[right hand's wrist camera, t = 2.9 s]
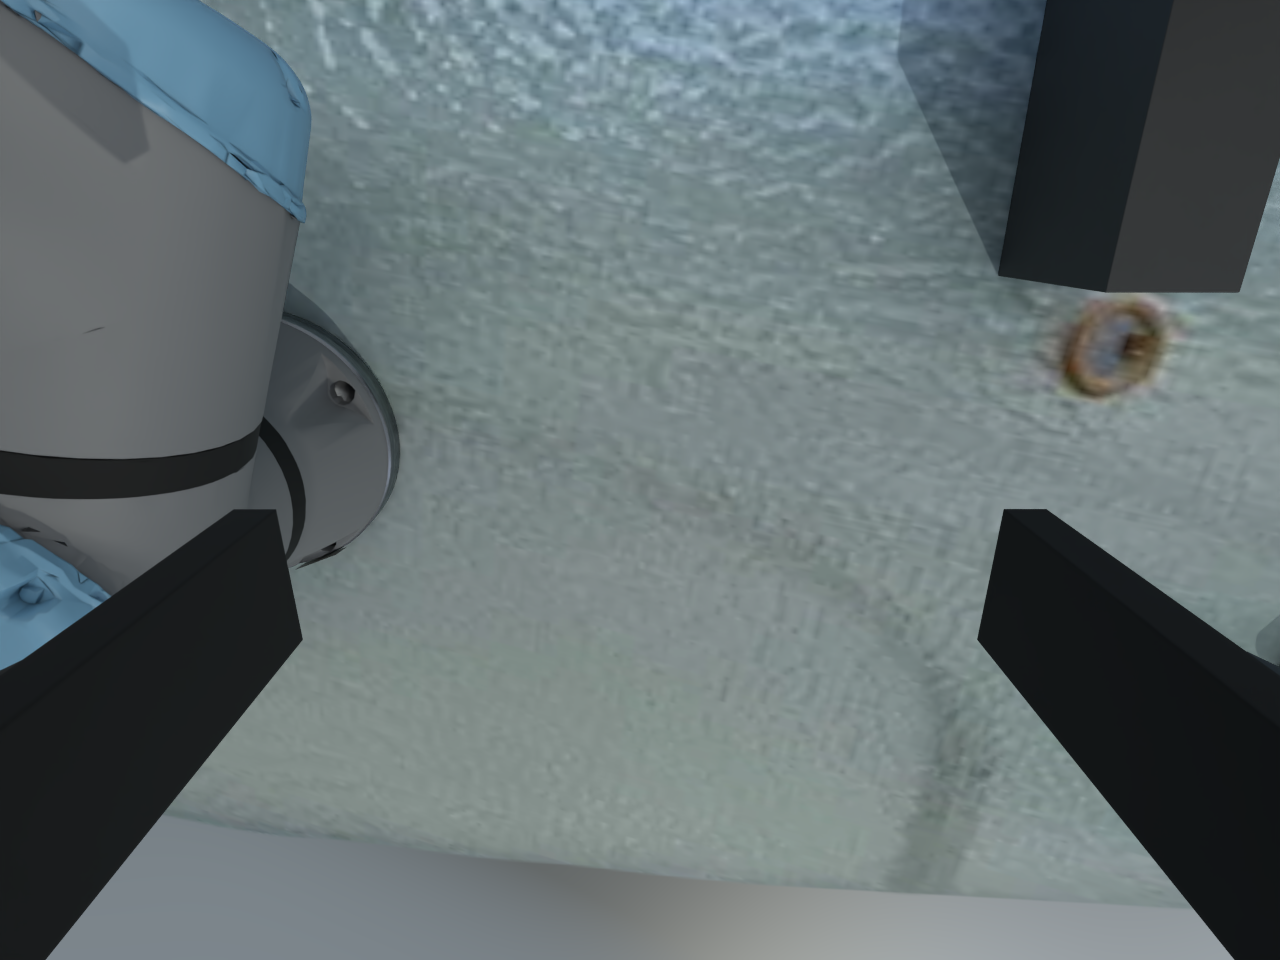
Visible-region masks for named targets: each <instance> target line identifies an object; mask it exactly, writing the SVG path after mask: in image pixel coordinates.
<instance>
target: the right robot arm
mask: <svg viewBox="0 0 1280 960" xmlns="http://www.w3.org/2000/svg"><path fill="white" fill-rule="evenodd" d="M310 131H311V110H310V105H309V101H308V98H307V95H306V92H305V90H304V88H303V86H302V84H301V82H300V80H299V79H298V77H297V76H296V74H295V73H294V71H293V70H292V69H291V68H290V66H289V65H288V64H287V63H286V62H285V61H284V60H283V59H282V58H281V57H280V56H279V55H278V54H277V53H276V52H275V51H274V50H272V49H271V48H270V47H269V46H267V45H266V44H265V43H264V42H262V41H261V40H259V39H258V38H256V37H255V36H254V35H252V34H251V33H249V32H248V31H246V30H245V29H243V28H242V27H240V26H239V25H237V24H236V23H234V22H233V21H231V20H229V19H228V18H226V17H225V16H223V15H222V14H220V13H219V12H217V11H215V10H214V9H212V8H210V7H209V6H207V5H205V4H204V3H202V2H201V1H199V0H0V960H46V958H47V957H48V956H49V955H50V953H51V952H52V951H53V950H54V949H55V947H56V946H57V945H58V944H59V942H60V941H61V940H62V939H63V937H64V936H65V935H66V934H67V932H68V931H69V930H70V929H71V927H72V926H73V925H74V924H75V922H76V921H77V920H78V919H79V917H80V916H81V915H82V914H83V912H84V911H85V910H86V909H87V907H88V906H89V905H90V904H91V902H92V901H93V900H94V899H95V897H96V896H97V895H98V894H99V892H100V891H101V890H102V889H103V888H104V886H105V885H106V884H107V883H108V881H109V880H110V879H111V878H112V876H113V875H114V874H115V873H116V871H117V870H118V869H119V868H120V866H121V865H122V864H123V863H124V861H125V860H126V859H127V858H128V856H129V855H130V854H131V853H132V851H133V850H134V849H135V848H136V846H137V845H138V844H139V843H140V842H141V840H142V839H143V838H144V837H145V835H146V834H147V833H148V832H149V830H150V829H151V828H152V827H153V825H154V824H155V823H156V822H157V820H158V819H159V818H160V817H161V815H162V814H163V813H164V812H165V810H166V809H167V808H168V807H169V805H170V804H171V803H172V802H173V800H174V799H175V798H176V797H177V795H178V794H179V793H180V792H181V790H182V789H183V788H184V787H185V786H186V784H187V783H188V782H189V781H190V779H191V778H192V777H193V776H194V774H195V773H196V772H197V771H198V769H199V768H200V767H201V766H202V764H203V763H204V762H205V761H206V759H207V758H208V757H209V756H210V754H211V753H212V752H213V751H214V749H215V748H216V747H217V746H218V744H219V743H220V742H221V741H222V739H223V738H224V737H225V736H226V734H227V733H228V732H229V731H230V730H231V728H232V727H233V726H234V725H235V723H236V722H237V721H238V720H239V718H240V717H241V716H242V715H243V713H244V712H245V711H246V710H247V708H248V707H249V706H250V705H251V703H252V702H253V701H254V700H255V698H256V697H257V696H258V695H259V693H260V692H261V691H262V690H263V688H264V687H265V686H266V685H267V683H268V682H269V681H270V680H271V678H272V677H273V676H274V675H275V673H276V672H277V671H278V670H279V669H280V667H281V666H282V665H283V664H284V662H285V661H286V660H287V659H288V657H289V656H290V655H291V654H292V652H293V651H294V650H295V649H296V647H297V646H298V645H299V644H300V642H301V641H302V640H303V638H302V634H301V629H300V624H299V619H298V614H297V609H296V604H295V599H294V594H293V589H292V585H291V580H290V575H289V570H288V568H289V567H292V566H295V565H297V564H298V563H303V562H306V563H305V564H303V565H301V566H300V567H298V568H297V569H299V568H301V567H304V566H307V565H309V564H312V563H315V562H317V561H320V560H323V559H325V558H328V557H331V556H333V555H336V554H337V553H339V552H340V551H342V550H343V549H345V548H346V547H345V548H343V549H341V548H342V547H344V546H346V545H347V544H349V543H350V542H351V541H353V540H354V539H355V538H356V537H358V536H359V535H360V534H361V533H362V532H363V531H364V530H365V528H366V527H367V526H368V525H369V524H370V523H371V522H372V521H373V520H374V518H375V517H376V516H377V515H378V514H379V512H380V511H381V510H382V508H383V507H384V505H385V504H386V502H387V500H388V499H389V496H390V494H391V492H392V490H393V487H394V484H395V481H396V478H397V473H398V468H399V459H400V444H399V435H398V429H397V425H396V420H395V417H394V414H393V411H392V408H391V406H390V403H389V401H388V399H387V397H386V395H385V393H384V391H383V389H382V387H381V385H380V384H379V382H378V381H377V379H376V378H375V376H374V375H373V373H372V372H371V371H370V370H369V368H368V367H367V366H366V365H365V363H364V362H363V361H362V360H361V359H360V358H359V357H358V356H357V355H356V354H355V353H354V352H353V351H352V350H351V349H350V348H349V347H348V346H346V345H345V344H344V343H343V342H341V341H340V340H339V339H337V338H336V337H335V336H333V335H332V334H330V333H329V332H327V331H326V330H324V329H322V328H321V327H319V326H317V325H315V324H313V323H311V322H309V321H307V320H304V319H302V318H299V317H297V316H294V315H291V314H288V313H284V312H283V308H284V303H285V298H286V292H287V287H288V282H289V277H290V272H291V266H292V261H293V256H294V251H295V245H296V240H297V235H298V230H299V225H300V222H302V223H305V220H306V209H305V206H304V204H303V203H302V196H303V186H304V178H305V170H306V162H307V154H308V146H309V139H310ZM339 549H340V550H339ZM310 560H311V561H310ZM307 561H308V562H307ZM295 570H296V569H295ZM977 640H978V641H979V642H980V644H981V645H982V646H983V647H984V649H985V650H986V651H987V652H988V654H989V655H990V656H991V657H992V659H993V660H994V661H995V662H996V664H997V665H998V666H999V667H1000V669H1001V670H1002V671H1003V672H1004V673H1005V675H1006V676H1007V677H1008V678H1009V680H1010V681H1011V682H1012V683H1013V685H1014V686H1015V687H1016V688H1017V690H1018V691H1019V692H1020V693H1021V695H1022V696H1023V697H1024V698H1025V700H1026V701H1027V702H1028V703H1029V705H1030V706H1031V707H1032V708H1033V710H1034V711H1035V712H1036V713H1037V715H1038V716H1039V717H1040V718H1041V720H1042V721H1043V722H1044V723H1045V725H1046V726H1047V727H1048V728H1049V730H1050V731H1051V732H1052V733H1053V734H1054V736H1055V737H1056V738H1057V739H1058V741H1059V742H1060V743H1061V744H1062V746H1063V747H1064V748H1065V749H1066V751H1067V752H1068V753H1069V754H1070V756H1071V757H1072V758H1073V759H1074V761H1075V762H1076V763H1077V764H1078V766H1079V767H1080V768H1081V769H1082V771H1083V772H1084V773H1085V774H1086V776H1087V777H1088V778H1089V779H1090V781H1091V782H1092V783H1093V784H1094V786H1095V787H1096V788H1097V789H1098V790H1099V792H1100V793H1101V794H1102V795H1103V797H1104V798H1105V799H1106V800H1107V802H1108V803H1109V804H1110V805H1111V807H1112V808H1113V809H1114V810H1115V812H1116V813H1117V814H1118V815H1119V817H1120V818H1121V819H1122V820H1123V822H1124V823H1125V824H1126V825H1127V827H1128V828H1129V829H1130V830H1131V832H1132V833H1133V834H1134V835H1135V837H1136V838H1137V839H1138V840H1139V842H1140V843H1141V844H1142V845H1143V846H1144V848H1145V849H1146V850H1147V851H1148V853H1149V854H1150V855H1151V856H1152V858H1153V859H1154V860H1155V861H1156V863H1157V864H1158V865H1159V866H1160V868H1161V869H1162V870H1163V871H1164V873H1165V874H1166V875H1167V876H1168V878H1169V879H1170V880H1171V881H1172V883H1173V884H1174V885H1175V886H1176V888H1177V889H1178V890H1179V891H1180V893H1181V894H1182V895H1183V896H1184V898H1185V899H1186V900H1187V901H1188V902H1189V904H1190V905H1191V906H1192V907H1193V909H1194V910H1195V911H1196V912H1197V914H1198V915H1199V916H1200V917H1201V919H1202V920H1203V921H1204V922H1205V924H1206V925H1207V926H1208V927H1209V929H1210V930H1211V931H1212V932H1213V934H1214V935H1215V936H1216V937H1217V939H1218V940H1219V941H1220V942H1221V944H1222V945H1223V946H1224V947H1225V948H1226V950H1227V951H1228V952H1229V954H1230V955H1231V956H1232V957H1233V958H1234V960H1280V667H1278V666H1276V665H1274V664H1272V663H1270V662H1268V661H1266V660H1263V659H1261V658H1259V657H1257V656H1255V655H1253V654H1251V653H1249V652H1246V651H1245V650H1243V649H1242V648H1240V647H1239V646H1238V645H1236V644H1235V643H1233V642H1232V641H1231V640H1229V639H1228V638H1226V637H1225V636H1224V635H1222V634H1221V633H1219V632H1218V631H1217V630H1215V629H1214V628H1212V627H1211V626H1210V625H1208V624H1207V623H1205V622H1204V621H1203V620H1201V619H1200V618H1198V617H1197V616H1196V615H1194V614H1193V613H1191V612H1190V611H1188V610H1187V609H1186V608H1184V607H1183V606H1181V605H1180V604H1179V603H1177V602H1176V601H1174V600H1173V599H1172V598H1170V597H1169V596H1167V595H1166V594H1165V593H1163V592H1162V591H1160V590H1159V589H1158V588H1156V587H1155V586H1153V585H1152V584H1151V583H1149V582H1148V581H1146V580H1145V579H1144V578H1142V577H1141V576H1139V575H1138V574H1137V573H1135V572H1134V571H1132V570H1131V569H1130V568H1128V567H1127V566H1125V565H1124V564H1123V563H1121V562H1120V561H1118V560H1117V559H1115V558H1114V557H1113V556H1111V555H1110V554H1108V553H1107V552H1106V551H1104V550H1103V549H1101V548H1100V547H1099V546H1097V545H1096V544H1094V543H1093V542H1092V541H1090V540H1089V539H1087V538H1086V537H1085V536H1083V535H1082V534H1080V533H1079V532H1078V531H1076V530H1075V529H1073V528H1072V527H1071V526H1069V525H1068V524H1066V523H1065V522H1064V521H1062V520H1061V519H1059V518H1058V517H1057V516H1055V515H1054V514H1052V513H1051V512H1049V511H1048V510H1047V509H1004V511H1003V516H1002V521H1001V526H1000V531H999V535H998V540H997V545H996V550H995V555H994V560H993V565H992V570H991V575H990V580H989V585H988V589H987V594H986V599H985V604H984V609H983V614H982V619H981V624H980V629H979V634H978V638H977Z"/></svg>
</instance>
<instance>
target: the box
mask: <svg viewBox="0 0 1280 960" xmlns="http://www.w3.org/2000/svg"><path fill="white" fill-rule="evenodd" d="M1279 158H1280V0H1047V4H1046V10H1045V15H1044V21H1043V27H1042V32H1041V38H1040V43H1039V49H1038V55H1037V60H1036V66H1035V72H1034V77H1033V83H1032V88H1031V94H1030V100H1029V105H1028V111H1027V117H1026V122H1025V128H1024V133H1023V139H1022V145H1021V150H1020V156H1019V162H1018V167H1017V173H1016V178H1015V184H1014V190H1013V195H1012V201H1011V207H1010V212H1009V218H1008V223H1007V229H1006V235H1005V240H1004V246H1003V252H1002V257H1001V263H1000V268H999V274H998V276H1003V277H1010V278H1016V279H1023V280H1029V281H1035V282H1042V283H1048V284H1055V285H1061V286H1068V287H1074V288H1081V289H1087V290H1093V291H1100V292H1228V293H1238V292H1239V291H1240V288H1241V285H1242V282H1243V278H1244V275H1245V272H1246V268H1247V265H1248V262H1249V258H1250V255H1251V252H1252V248H1253V245H1254V242H1255V238H1256V235H1257V232H1258V228H1259V225H1260V222H1261V218H1262V215H1263V212H1264V208H1265V205H1266V202H1267V198H1268V195H1269V192H1270V188H1271V185H1272V182H1273V178H1274V175H1275V172H1276V168H1277V165H1278V162H1279Z"/></svg>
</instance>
